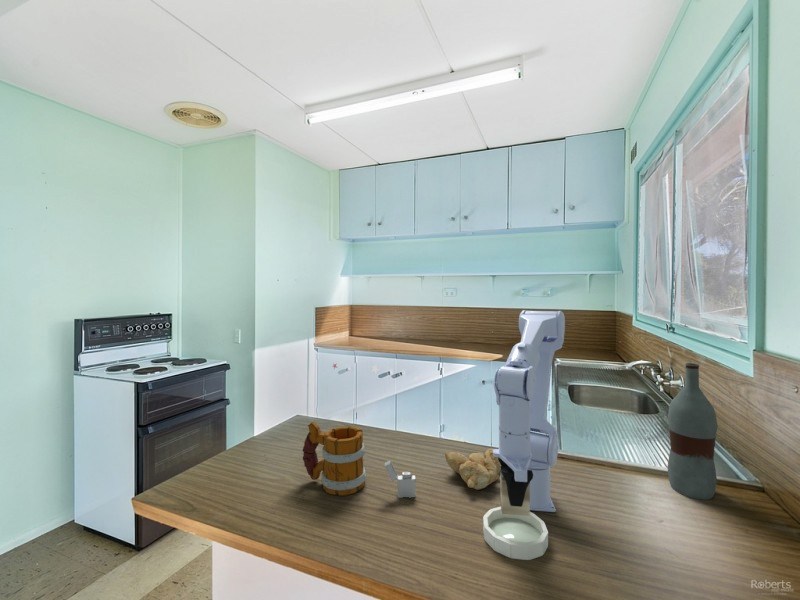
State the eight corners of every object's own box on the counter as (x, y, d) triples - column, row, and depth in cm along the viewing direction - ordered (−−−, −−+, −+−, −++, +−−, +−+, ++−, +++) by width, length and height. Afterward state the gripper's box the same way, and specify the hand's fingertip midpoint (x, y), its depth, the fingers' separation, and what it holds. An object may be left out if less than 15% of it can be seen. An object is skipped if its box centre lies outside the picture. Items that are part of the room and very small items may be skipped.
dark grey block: (500, 504, 71) (500, 469, 71) (526, 506, 70) (526, 471, 70) (502, 513, 68) (502, 477, 68) (529, 516, 67) (529, 479, 67)
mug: (359, 499, 82) (358, 434, 82) (293, 491, 86) (292, 429, 85) (372, 475, 93) (371, 418, 93) (313, 470, 96) (312, 414, 96)
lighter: (415, 493, 85) (415, 459, 85) (415, 497, 83) (415, 463, 83) (385, 493, 85) (384, 460, 84) (384, 497, 83) (384, 463, 83)
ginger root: (448, 492, 83) (448, 455, 84) (442, 474, 98) (442, 443, 100) (517, 495, 82) (516, 458, 84) (500, 477, 98) (499, 446, 99)
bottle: (715, 506, 79) (716, 370, 78) (664, 490, 85) (664, 364, 84) (717, 489, 85) (719, 363, 85) (670, 475, 92) (671, 358, 91)
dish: (481, 515, 76) (481, 504, 76) (539, 520, 74) (539, 509, 74) (486, 555, 64) (486, 542, 64) (554, 562, 63) (554, 548, 63)
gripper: (489, 415, 77) (489, 478, 77) (497, 444, 62) (497, 521, 63) (523, 417, 76) (523, 481, 76) (539, 446, 61) (539, 525, 61)
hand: (514, 499), depth 69 cm, fingers closed on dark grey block, 3 cm apart
